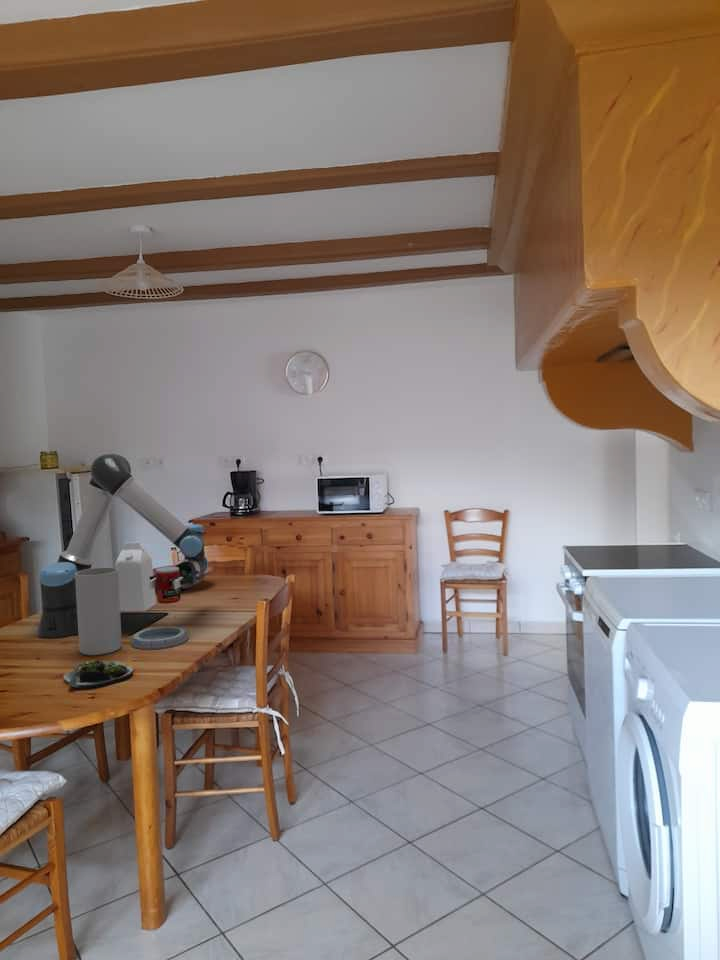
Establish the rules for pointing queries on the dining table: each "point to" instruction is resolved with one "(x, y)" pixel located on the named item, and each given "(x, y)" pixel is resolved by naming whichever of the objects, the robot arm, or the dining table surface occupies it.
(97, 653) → the cylinder vase
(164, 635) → the round tray
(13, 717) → the dining table surface
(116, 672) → the salad plate
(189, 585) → the ceramic bowl
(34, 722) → the dining table surface
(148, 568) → the milk
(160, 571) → the canned food
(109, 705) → the dining table surface
